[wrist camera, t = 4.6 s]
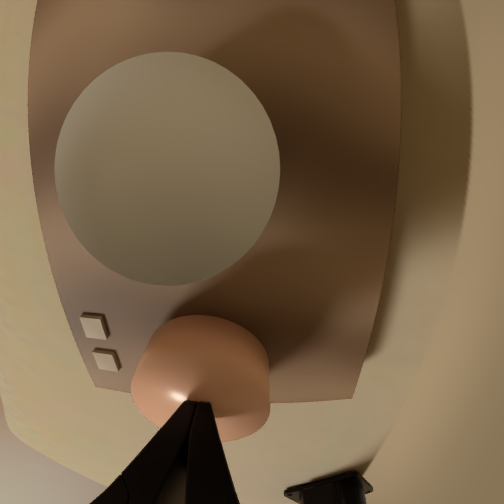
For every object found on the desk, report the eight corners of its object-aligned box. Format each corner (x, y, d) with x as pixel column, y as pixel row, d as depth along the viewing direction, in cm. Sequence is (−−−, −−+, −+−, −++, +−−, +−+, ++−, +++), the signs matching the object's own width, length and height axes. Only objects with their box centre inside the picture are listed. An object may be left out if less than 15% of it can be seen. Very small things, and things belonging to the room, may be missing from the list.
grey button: (273, 247, 8) (277, 287, 6) (111, 247, 8) (75, 282, 6) (273, 66, 6) (279, 43, 4) (95, 85, 6) (49, 79, 4)
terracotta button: (267, 403, 11) (268, 443, 9) (160, 397, 11) (149, 434, 9) (270, 316, 9) (272, 359, 8) (136, 311, 9) (114, 350, 8)
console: (345, 375, 13) (352, 401, 12) (105, 366, 14) (93, 389, 12) (363, -73, 5) (376, -93, 4) (69, -44, 6) (49, -57, 4)
